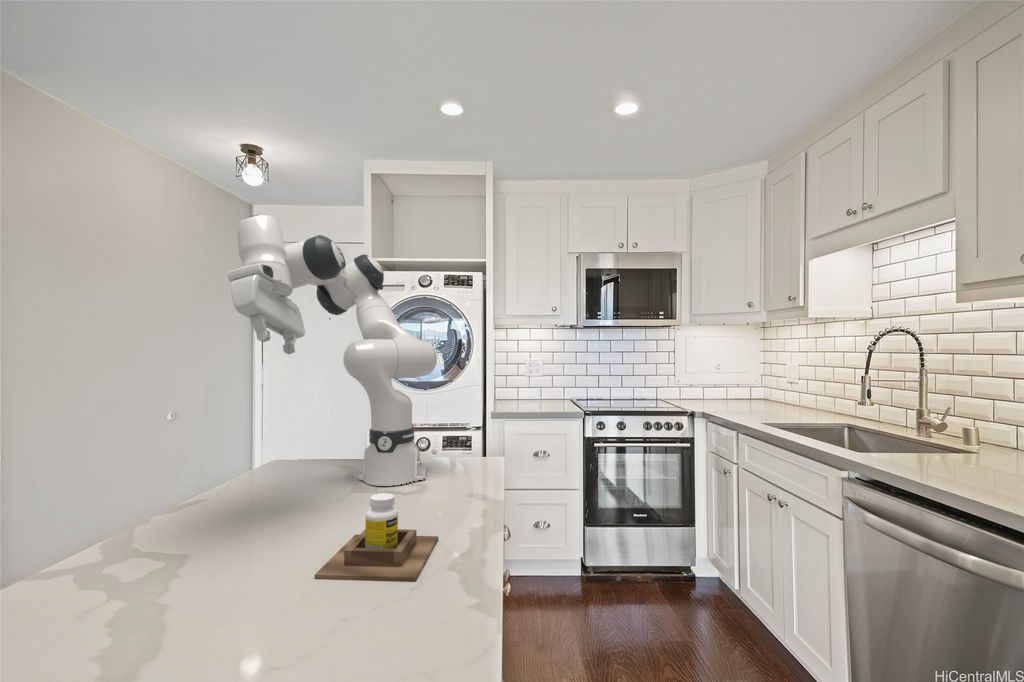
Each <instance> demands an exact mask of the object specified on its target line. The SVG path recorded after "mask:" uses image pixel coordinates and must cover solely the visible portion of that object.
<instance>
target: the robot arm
mask: <svg viewBox="0 0 1024 682" xmlns="http://www.w3.org/2000/svg"><path fill="white" fill-rule="evenodd" d="M237 227H238V228H237V247H238V256H239V258H240V260H241V263H242V266H241V267H238V268H235V269H232V270H229V271H228V272H227V278H228V281H229V282H230V291H231V299H232V304H233V306H234V308H235V310H236V311H237V313H238V314H241V315H242V316H244V317H246V318H248V319H250V323H251V326H252V328H253V329H254V331H255V334H256V340H258V341H259V342H262V343H265V342H269V341H270V340H271V332H270V331H272V332H274V333H276V334H277V335H280V336H282V338H283V340H284V344H283V345H282V350H283V352H284V353H285V354H287V355H292V354H295V353H296V346H295V345H296V341H297V339H300V338H303V337H304V336H305V334H306V330H305V325H304V321H303V316H302V313H301V310H300V308H299V306H298V305H297V304H296V303H295V302H293V301H292V299H289V298H288V297H289V296H290V295H291V294H292V293H293V290H294V289H297V288H300V287H301V288H302V287H304V286H307V285H310V286H311V285H312V286H316V288H317V289H316V299H317V301H318V303H319V304H320V306H321V307H322V308H323V309H324V310H325V311H326V312H328V313H329V314H331V315H335V316H340V315H343V314H344V313H346V312H347V311H348V310H349V309H351V308H352V307H354V306H356V309H355V310H356V318H357V319H356V320H357V324H358V327H359V330H360V332H361V335H362V338H363V339H360V340H356V341H352V342H351V343H349V345H347V347H346V348H345V351H344V353H343V357H342V358H343V361H342V362H343V367H344V368H345V370H346V372H347V373H348V375H349V376H350V377H351V378H353V379H355V380H356V381H357V382H358V383H359V384H360V385H361V387H363V389H364V390H365V392H366V394H367V397H368V400H369V405H370V425H371V426H370V429H369V433H368V437H369V438H368V439H369V441H368V442H369V445H368V446H367V447H366V448H365V449H364V454H363V469H362V473H360V474H358V477H357V480H359V481H362V480H363V482H364V483H365V484H367V485H370V486H378V487H392V486H393V485H394V486H400V485H401V484H402V485H406V483H407V484H410V483H409V482H411V483H414V482H413V481H415V482H419V481H418V480H422V481H424V480H423V479H425V480H426V478H425V477H427V473H426V471H427V472H428V464H426V463H422V462H421V451H420V448H419V446H418V445H417V444H416V442H415V431H416V428H415V426H414V425H413V403H412V400H411V398H410V396H408V395H407V394H405V393H404V392H402V391H400V390H398V389H395V388H394V386H393V383H392V380H393V379H414V378H419V377H424V376H428V375H430V374H432V372H433V371H434V370H435V368H436V365H437V361H438V355H437V352H436V349H435V347H434V346H433V345H432V343H431V342H428V341H425V340H422V339H421V338H418V337H416V336H414V335H413V334H411V333H410V332H409V331H407V330H406V329H404V328H403V327H402V326H401V325H400V323H399V321H398V320H397V317H396V316H395V314H394V312H393V310H392V308H391V306H390V305H389V304H388V302H387V301H386V299H384V298H383V297H382V296H381V295H380V293H379V291H382V290H384V286H383V284H384V280H385V279H384V278H385V275H384V273H385V272H384V271H383V268H382V267H381V265H380V263H379V262H378V261H377V260H376V259H375V258H373V257H371V256H370V255H368V254H364V253H363V254H361V255H358V256H356V257H354V258H353V260H352V261H350V262H349V263H347V262H346V259H345V256H344V254H343V251H342V250H341V248H340V247H339V246H337V245H336V244H335V242H334V241H333V240H332V239H331V238H329V237H326V236H325V235H322V234H318V235H315V236H312V237H310V238H308V239H305V240H302V241H298V242H295V243H291V244H287V245H285V240H284V236H283V233H282V230H281V228H280V227H281V226H280V224H279V222H278V220H277V219H276V218H275V217H274V216H272V215H268V214H255V215H252V216H248V217H245V218H243V219H242V220H241V221H239V223H238V226H237ZM268 329H269V330H270V331H269V330H268ZM402 485H401V486H402Z"/></svg>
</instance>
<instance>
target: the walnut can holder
mask: <svg viewBox="0 0 1024 682" xmlns="http://www.w3.org/2000/svg"><path fill="white" fill-rule="evenodd" d="M438 542H439V536H437V535H436V536H435V535H434V536H433V535H417V529H399V528H398V544H397V548H396V549H388V548H365V529H364V530H363V531H362V532H361V533H360V534H354V535H353V536H352V537H351V538H350V539H349V540H348V541H347V542H346V543H345V544H344V545H343V546H342V547H341V548H340V549H339V550H337V552H336V553H335V554H334V555H333V556H332V557H331V558H329V560H327V562H326V563H325V564H324V565H323V566H322V567H321V568H319V569H318V570H317V572H315V574H314V579H315V578H316V579H317V578H322V579H321V580H347V579H348V580H349V579H351V580H352V579H353V580H352V581H355V580H356V579H357V580H358V581H385V582H389V581H390V582H391V581H392V582H417V580H418V578H419V576H420V574H421V572H422V571H423V568H424V566H425V565H426V564H427V561H428V559H429V558H430V556H431V554H432V552H433V550H434V549H435V547H436V545H437V543H438ZM354 579H355V580H354ZM317 580H318V579H317Z"/></svg>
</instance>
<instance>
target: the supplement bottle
mask: <svg viewBox="0 0 1024 682" xmlns="http://www.w3.org/2000/svg"><path fill="white" fill-rule="evenodd" d="M394 504H395V495H394V494H392V493H388V492H383V493H376V494H374V495H371V496H370V501H369V506H370V508H369V509H368V510H366V513H365V528H364V530H365V548H388V549H396V548H397V544H398V529H399V525H398V524H399V511H398V508H396V507H395V506H394Z"/></svg>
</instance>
